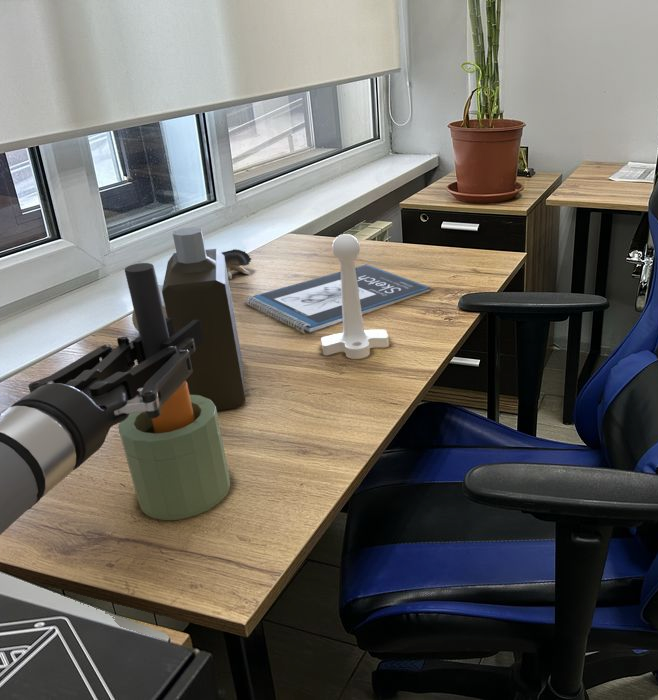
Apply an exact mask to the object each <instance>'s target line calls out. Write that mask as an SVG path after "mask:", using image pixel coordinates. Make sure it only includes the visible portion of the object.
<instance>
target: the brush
mask: <svg viewBox="0 0 658 700" xmlns="http://www.w3.org/2000/svg"><path fill="white" fill-rule="evenodd" d="M124 275H125V278H126V282H127V286H128V291H129V295H130V299H131V303H132V308H133V310H134V312H135V316H136V321H137V325H138V329H139V331H138V333H139V336H140V338H141V342H142V346H143V350H144V355H145V359H148V358H150V357H151V356H153V355H154V354H156V353H158V352H159V351H161V350H163V346H162V343H164V342H165V341H167V340H168V339H169V333H168V328H167V324H166V319H165V314H164V310H163V305H162V301H161V296H160V291H159V287H158V285H159V282H158V278H157V273H156V268H155V265H154V263H151V262H138V263H133V264H130V265H127V266H126V267H125V268H124ZM194 421H195V418H194V413H193V409H192V404H191V399H190V394H189V389H188V385H187V382H186V381H184V382H183V383H182V385H181V386H180V387H179V388H178V389H177V390H176V391H175V392H174V393H173V394H172V395H171V397H170V398H169V399H168V400H167V401H166V402H165V403H164V404H163V405H162V408H161V413H160V415H159V416H158V417H156V418H152V423H153V427H154V431H155V434H158V433H166V432H171V431H174V430H178V429H181V428H184V427H185V426H187V425H189V424H191V423H193V422H194Z"/></svg>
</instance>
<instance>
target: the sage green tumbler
mask: <svg viewBox="0 0 658 700" xmlns="http://www.w3.org/2000/svg"><path fill="white" fill-rule="evenodd" d="M190 399H191V404H192V409H193V413H194V418H195V421H194V422H193V423H191V424H189V425H187V426H185V427H184V428H181V429H178V430H174V431H171V432H166V433H158V434H155V431H154V427H153V423H152V418H147V416H146V413H144V412H138V413H131V414H129V416H128V417H127V418H126V419H125V420H124V421H122V422H120V423H118V426H117V428H118V433H119V436H120V440H121V444H122V446H123V447H122V448H123V451H124V454H125V458H126V461H127V465H128V470H129V473H130V477H131V480H132V484H133V488H134V492H135V495H136V499H137V502H138V503H139V507H140V510H141V511H142V512H143V513H144V515H146V516H148V517H150V518H153V519H157V520H162V521H164V520H165V521H175V520H183V519H188V518H192V517H195V516H197V515H200V514H203V513H204V512H205V513H206V512H207V511H209V510H211V509H212V508H214V507H216V506H217V505H218V504H220V502H221V501H223V500H224V498H225V497H226V496H227V494H228V493H229V491H230V487H231V482H230V479H231V476H230V471H229V465H228V461H227V457H226V451H225V446H224V440H223V436H222V430H221V426H220V421H219V416H218V415H219V414H218V412H217V410H216V406H215V405H214V403H213V402H212V401H211V400H210V399H208V398H205V397H202V396H200V395H190Z"/></svg>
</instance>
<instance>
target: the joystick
mask: <svg viewBox="0 0 658 700" xmlns="http://www.w3.org/2000/svg"><path fill="white" fill-rule="evenodd" d="M331 245H332V246H331V251H332V254H333V256H334V257H335V258H336V259H337V261H338V262H339V264H340V272H341V289H342V315H343V322H342V332H338V333H334V334H330V335H325V336H321V338H320V344H321V345H320V346H321V350H322V355H323V356H331V355H334V354H337V353H345V356H346V358H348V359H351V360H360V359H364V358H367V357H368V356H370V354H371V349H373V348H384V349H385V348H389V347H390V340H389V334H388V332H387V330H386V329H384V328H382V329H381V328H380V329H377V328H374V329H365V326H364V318H363V315H362V312H361V305H360V298H359V291H358V284H357V277H356V270H355V267H356V264H355V263H356V261H357V260H356V259H357V258H358V256H359V255H360V252H361V245H360V242H359V240H358V239H357V238H356V237H355V236H354V235H352V234H349V233H344V234H340V235H338V236H337V237H335V238H334V240H333V241H332V243H331Z"/></svg>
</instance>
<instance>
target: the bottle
mask: <svg viewBox="0 0 658 700" xmlns="http://www.w3.org/2000/svg"><path fill="white" fill-rule="evenodd" d="M172 237H173V241H174V248H175V252H173V254H172V255H171V256H170V258H169V259H168V261H167V264H166V269H165V275H164V279H163V284H162V285H163V289H162V295H163V299H164V304H165V308H166V313H167V318H172V322H173V326H174V331H175V334H176V333H177V332H178V331H180V330H181V329H182V328H183V327H185V326H186V325H187V324H189V323H190V322H191V321H193V320H200V324H201V329H202V334H203V339H204V342H203V343H202V344H200V345H199V346H198V347H197V348H196V349H195V352H194V353H192V354H191V355H190V360H191V365H192V370H193V372H192V374H191V375H190V376H189V377H188V378H187V379H186V380H185V381H186V382H187V385H188V389H189V394H190V395H200V396H202V397H205V398H208V399H210V400H211V401H212V402H213V403H214V405H215V406H216V410H217V413H218V412H223V411H229V410H235V409H236V410H237V409H238V408H240V407H243V405H244V403H246V391H245V390H246V389H245V377H244V376H245V375H244V364H243V356H242V351H241V344H240V339H239V334H238V327H237V321H236V316H235V311H234V304H233V299H232V292H231V286H230V279H229V278H228V274H227V269H226V263H225V257H224V255H223V254H222V252H221V251H220V250H218V249H217V248H208V249H206V246H205V241H204V235H203V230H202V228H200V227H194V226H193V227H192V226H191V227H182V228H179V229H176V230H173V232H172Z"/></svg>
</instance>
